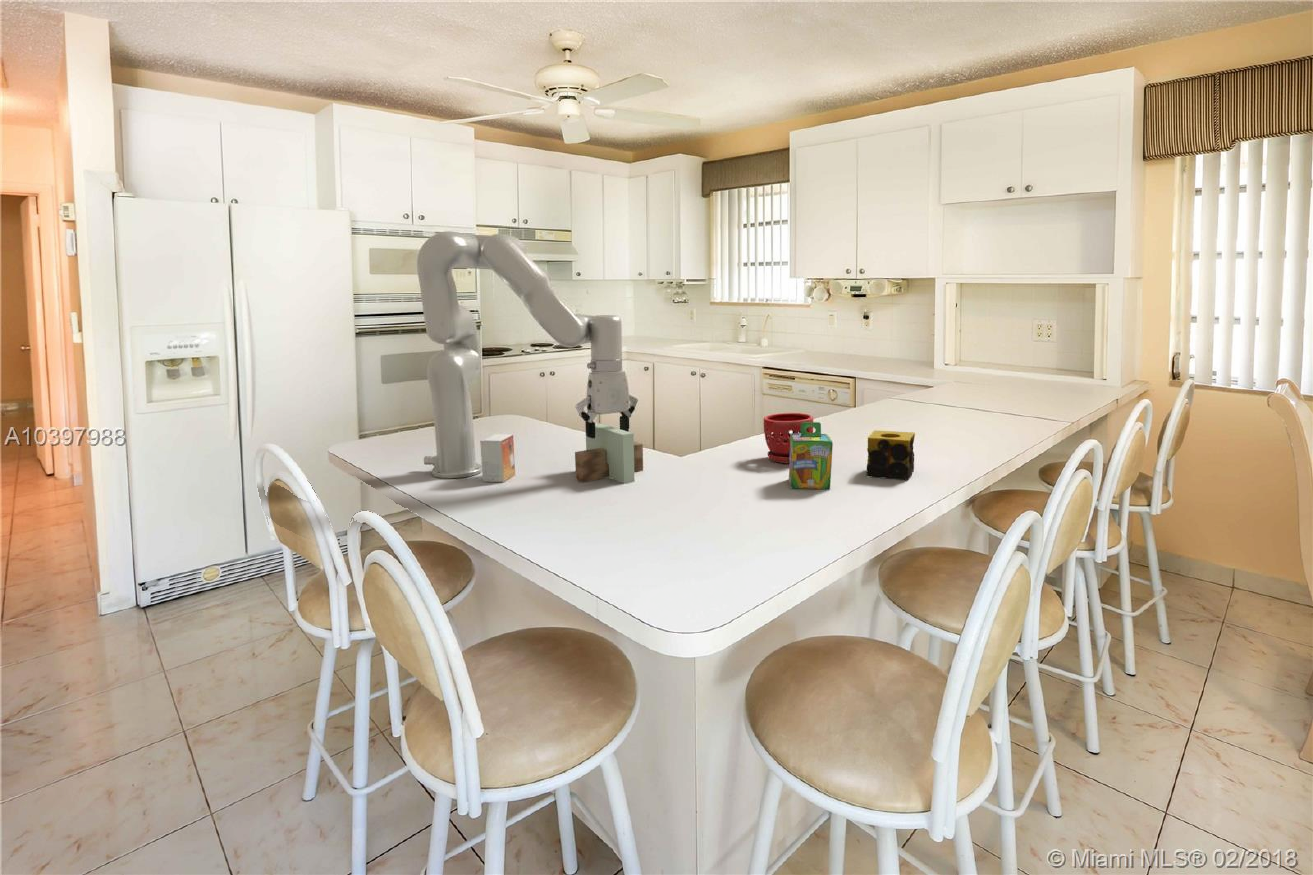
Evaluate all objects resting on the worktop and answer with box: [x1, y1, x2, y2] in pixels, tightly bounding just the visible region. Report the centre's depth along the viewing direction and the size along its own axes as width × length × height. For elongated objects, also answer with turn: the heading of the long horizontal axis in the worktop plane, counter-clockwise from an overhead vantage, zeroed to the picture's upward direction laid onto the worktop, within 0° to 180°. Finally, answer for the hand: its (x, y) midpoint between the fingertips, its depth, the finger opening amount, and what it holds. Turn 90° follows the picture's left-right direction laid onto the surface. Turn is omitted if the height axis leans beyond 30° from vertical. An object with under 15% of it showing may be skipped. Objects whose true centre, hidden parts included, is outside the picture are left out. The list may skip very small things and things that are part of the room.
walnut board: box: [574, 441, 644, 483], centre depth 185 cm, size 18×3×7 cm, turn 125°
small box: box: [479, 433, 516, 483], centre depth 184 cm, size 8×6×10 cm
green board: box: [584, 421, 636, 484], centre depth 185 cm, size 18×3×12 cm, turn 35°
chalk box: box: [788, 421, 834, 490], centre depth 173 cm, size 9×9×15 cm
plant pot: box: [763, 412, 814, 465], centre depth 198 cm, size 13×13×12 cm
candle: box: [866, 430, 916, 481], centre depth 182 cm, size 10×10×10 cm
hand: (607, 435), depth 184 cm, fingers open, 9 cm apart
